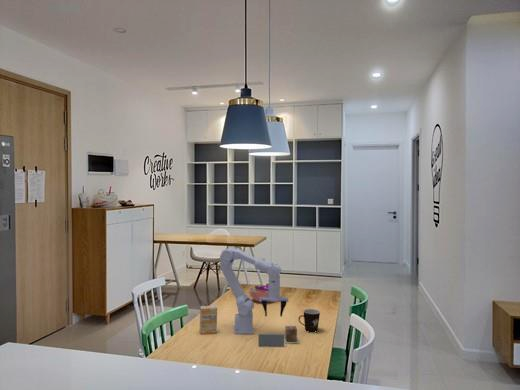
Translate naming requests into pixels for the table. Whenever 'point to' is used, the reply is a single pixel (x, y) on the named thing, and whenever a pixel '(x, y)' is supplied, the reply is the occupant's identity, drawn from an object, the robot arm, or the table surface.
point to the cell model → (259, 292)
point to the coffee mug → (311, 319)
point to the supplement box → (208, 319)
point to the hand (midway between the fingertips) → (273, 315)
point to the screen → (271, 340)
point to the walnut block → (291, 334)
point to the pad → (290, 342)
